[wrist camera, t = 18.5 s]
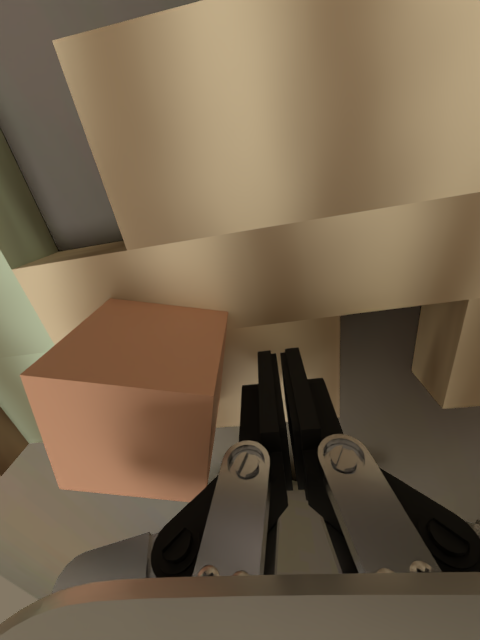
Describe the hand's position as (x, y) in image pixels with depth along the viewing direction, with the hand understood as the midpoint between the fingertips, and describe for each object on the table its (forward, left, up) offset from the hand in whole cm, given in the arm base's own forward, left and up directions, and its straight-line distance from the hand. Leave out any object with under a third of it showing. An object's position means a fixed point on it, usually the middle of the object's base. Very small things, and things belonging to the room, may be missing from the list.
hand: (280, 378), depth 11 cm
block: (+5, -1, -1) cm, 5 cm away
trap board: (+2, -4, -4) cm, 6 cm away
